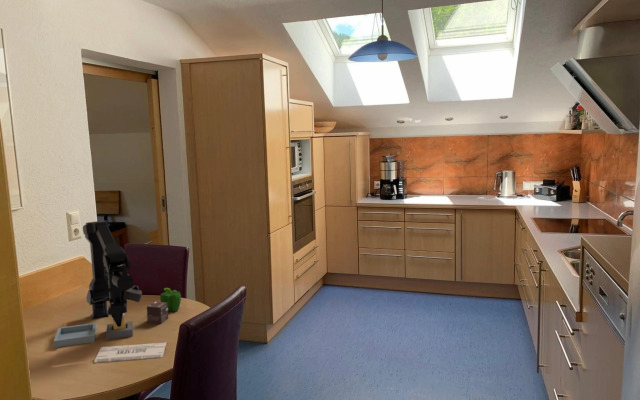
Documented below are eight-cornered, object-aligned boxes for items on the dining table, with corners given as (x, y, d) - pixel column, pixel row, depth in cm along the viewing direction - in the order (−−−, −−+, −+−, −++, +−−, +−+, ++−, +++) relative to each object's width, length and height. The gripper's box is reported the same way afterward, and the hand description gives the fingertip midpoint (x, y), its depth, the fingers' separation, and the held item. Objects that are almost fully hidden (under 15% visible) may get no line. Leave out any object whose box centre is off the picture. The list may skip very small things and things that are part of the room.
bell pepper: (182, 306, 217) (181, 283, 216) (181, 312, 209) (179, 289, 208) (162, 307, 216) (160, 285, 214) (160, 314, 208) (158, 291, 206)
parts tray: (59, 334, 187) (58, 327, 187) (96, 329, 192) (96, 322, 191) (54, 348, 175) (53, 341, 175) (94, 342, 180) (94, 335, 179)
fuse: (114, 332, 188) (113, 314, 187) (125, 331, 189) (124, 313, 188) (114, 335, 185) (113, 317, 184) (125, 334, 186) (124, 316, 185)
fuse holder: (107, 332, 190) (107, 324, 189) (132, 328, 193) (132, 321, 192) (106, 341, 181) (106, 333, 181) (133, 337, 184) (132, 329, 184)
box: (161, 325, 196) (160, 307, 195) (147, 324, 197) (146, 306, 196) (168, 319, 202) (167, 302, 201) (155, 318, 203) (154, 301, 202)
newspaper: (167, 344, 180) (167, 338, 179) (163, 362, 168) (162, 355, 167) (101, 349, 176) (100, 342, 175) (91, 368, 164) (91, 361, 164)
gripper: (140, 288, 178) (142, 330, 181) (139, 275, 196) (141, 313, 198) (106, 292, 175) (109, 335, 177) (108, 278, 192) (111, 317, 194)
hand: (119, 324), depth 186 cm, fingers open, 4 cm apart
